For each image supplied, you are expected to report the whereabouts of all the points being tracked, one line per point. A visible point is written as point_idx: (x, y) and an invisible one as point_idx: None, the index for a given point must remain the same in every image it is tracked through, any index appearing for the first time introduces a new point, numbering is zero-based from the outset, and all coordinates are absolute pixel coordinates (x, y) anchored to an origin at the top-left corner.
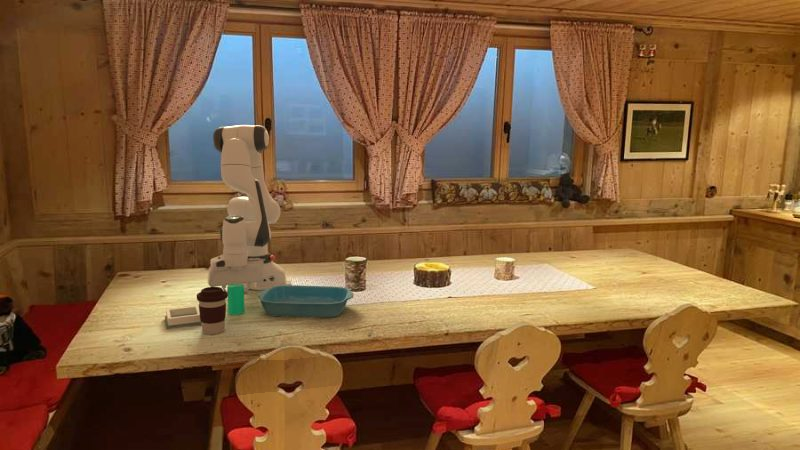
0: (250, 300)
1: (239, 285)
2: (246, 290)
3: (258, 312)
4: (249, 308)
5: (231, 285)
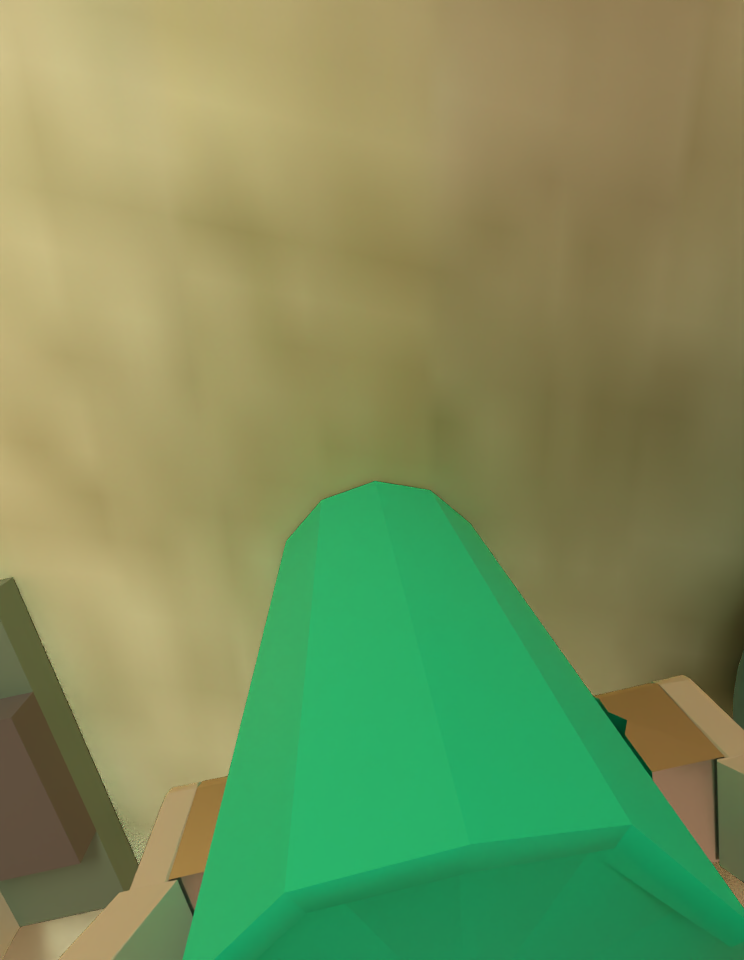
0: (610, 5)
1: (611, 914)
2: (714, 852)
3: (644, 620)
4: (554, 449)
5: (306, 903)
